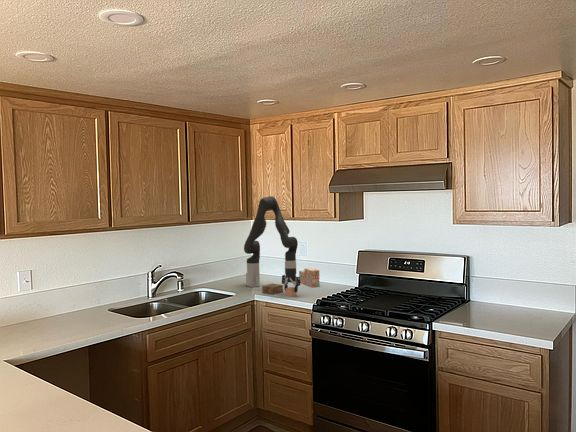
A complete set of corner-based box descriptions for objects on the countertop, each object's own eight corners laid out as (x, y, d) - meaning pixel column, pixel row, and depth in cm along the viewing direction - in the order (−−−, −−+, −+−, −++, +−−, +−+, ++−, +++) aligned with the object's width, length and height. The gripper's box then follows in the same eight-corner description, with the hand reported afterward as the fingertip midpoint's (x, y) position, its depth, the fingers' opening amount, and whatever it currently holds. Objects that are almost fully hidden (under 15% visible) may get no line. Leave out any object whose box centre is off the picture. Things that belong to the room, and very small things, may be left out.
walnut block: (262, 292, 332) (262, 285, 332) (272, 290, 339) (272, 283, 339) (272, 294, 325) (272, 287, 325) (283, 292, 333) (282, 285, 332)
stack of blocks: (299, 282, 367) (298, 266, 367) (306, 282, 370) (306, 266, 369) (311, 287, 348) (311, 270, 347) (319, 286, 350) (319, 269, 350)
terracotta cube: (285, 295, 322) (285, 288, 322) (290, 294, 326) (290, 287, 326) (291, 296, 319) (291, 289, 319) (296, 295, 323) (296, 287, 322)
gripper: (278, 266, 323) (279, 291, 324) (295, 268, 314) (295, 293, 314) (286, 265, 329) (286, 289, 329) (302, 267, 319) (303, 291, 320)
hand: (291, 291), depth 322 cm, fingers open, 8 cm apart
